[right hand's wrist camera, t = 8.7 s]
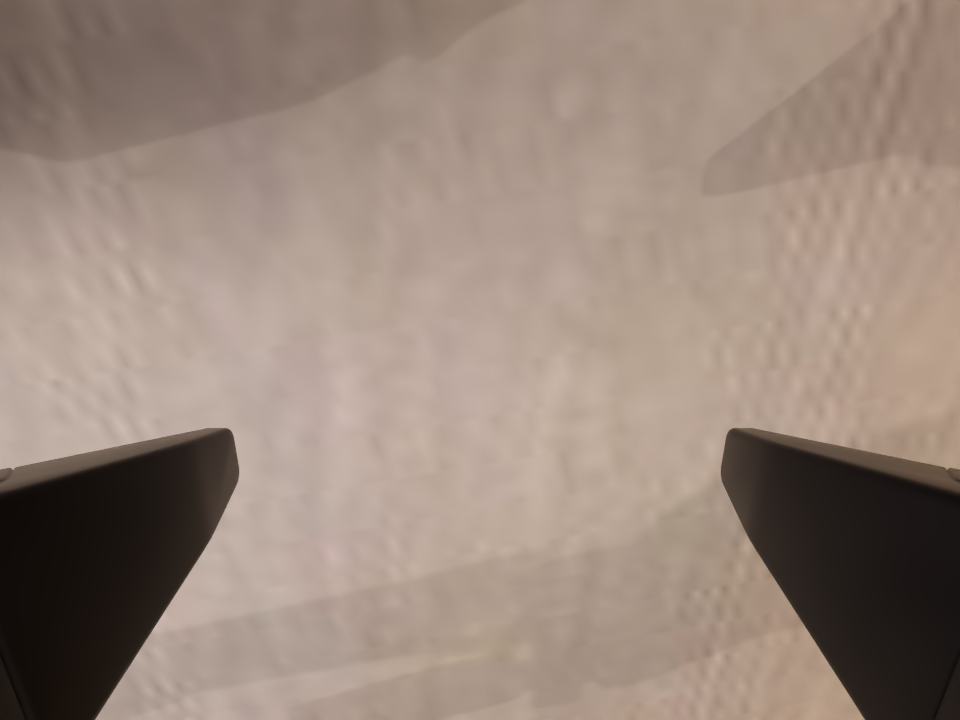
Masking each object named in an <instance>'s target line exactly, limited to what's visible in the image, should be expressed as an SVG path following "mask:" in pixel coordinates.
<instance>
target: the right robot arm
mask: <svg viewBox="0 0 960 720" xmlns="http://www.w3.org/2000/svg"><path fill="white" fill-rule="evenodd" d="M238 478H239V465H238V459H237V453H236V448H235V442H234V436H233V434H232V432H231V430H229V429H227V428H207V429H202V430H197V431H192V432H187V433H182V434H177V435H172V436H167V437H162V438H158V439H153V440H148V441H143V442H138V443H133V444H128V445H123V446H118V447H113V448H108V449H104V450H99V451H94V452H89V453H84V454H79V455H74V456H69V457H64V458H59V459H55V460H50V461H45V462H40V463H35V464H30V465H25V466H20V467H16V468H14V470H12V469H11V468H6V469H1V470H0V720H95V719H96V717H97V716H98V714H99V713H100V711H101V709H102V708H103V706H104V705H105V703H106V702H107V700H108V699H109V697H110V695H111V694H112V692H113V691H114V689H115V688H116V686H117V685H118V683H119V681H120V680H121V678H122V677H123V675H124V674H125V672H126V671H127V669H128V667H129V666H130V664H131V663H132V661H133V660H134V658H135V657H136V655H137V653H138V652H139V650H140V649H141V647H142V646H143V644H144V643H145V641H146V639H147V638H148V636H149V635H150V633H151V632H152V630H153V629H154V627H155V625H156V624H157V622H158V621H159V619H160V618H161V616H162V615H163V613H164V611H165V610H166V608H167V607H168V605H169V604H170V602H171V600H172V599H173V597H174V596H175V594H176V593H177V591H178V590H179V588H180V586H181V585H182V583H183V582H184V580H185V579H186V577H187V576H188V574H189V572H190V571H191V569H192V568H193V566H194V565H195V563H196V562H197V560H198V558H199V557H200V555H201V554H202V552H203V551H204V549H205V547H206V546H207V544H208V542H209V541H210V539H211V537H212V535H213V533H214V531H215V529H216V527H217V525H218V523H219V521H220V519H221V517H222V515H223V512H224V510H225V508H226V506H227V504H228V502H229V500H230V498H231V496H232V493H233V491H234V489H235V487H236V485H237V482H238ZM721 478H722V482H723V485H724V487H725V489H726V491H727V493H728V496H729V498H730V500H731V502H732V504H733V506H734V508H735V510H736V512H737V515H738V517H739V519H740V521H741V523H742V525H743V527H744V529H745V531H746V533H747V535H748V537H749V539H750V541H751V542H752V544H753V546H754V547H755V549H756V551H757V552H758V554H759V555H760V557H761V558H762V560H763V562H764V563H765V565H766V566H767V568H768V569H769V571H770V572H771V574H772V576H773V577H774V579H775V580H776V582H777V583H778V585H779V586H780V588H781V590H782V591H783V593H784V594H785V596H786V597H787V599H788V600H789V602H790V604H791V605H792V607H793V608H794V610H795V611H796V613H797V614H798V616H799V618H800V619H801V621H802V622H803V624H804V625H805V627H806V628H807V630H808V632H809V633H810V635H811V636H812V638H813V639H814V641H815V642H816V644H817V646H818V647H819V649H820V650H821V652H822V653H823V655H824V656H825V658H826V660H827V661H828V663H829V664H830V666H831V667H832V669H833V670H834V672H835V674H836V675H837V677H838V678H839V680H840V681H841V683H842V684H843V686H844V688H845V689H846V691H847V692H848V694H849V695H850V697H851V698H852V700H853V702H854V703H855V705H856V706H857V708H858V709H859V711H860V713H861V714H862V716H863V717H864V719H865V720H960V470H959V469H954V468H949V469H948V470H946V468H944V467H940V466H935V465H930V464H925V463H921V462H916V461H911V460H906V459H901V458H896V457H891V456H886V455H881V454H876V453H871V452H866V451H862V450H857V449H852V448H847V447H842V446H837V445H832V444H827V443H822V442H817V441H812V440H808V439H803V438H798V437H793V436H788V435H783V434H778V433H773V432H768V431H763V430H758V429H753V428H733V429H731V430H729V432H728V434H727V436H726V442H725V448H724V453H723V459H722V465H721Z"/></svg>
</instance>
